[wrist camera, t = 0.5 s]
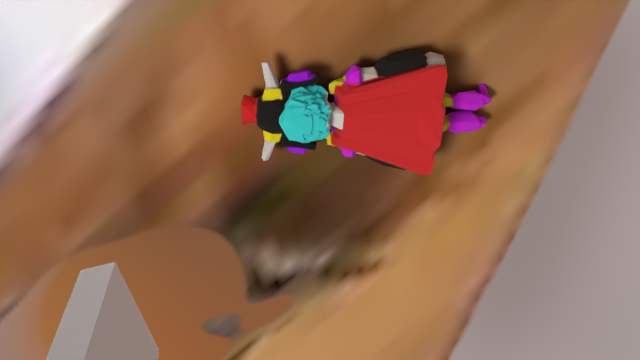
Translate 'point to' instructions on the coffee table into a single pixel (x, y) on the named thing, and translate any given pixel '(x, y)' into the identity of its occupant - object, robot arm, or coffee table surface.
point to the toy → (367, 110)
